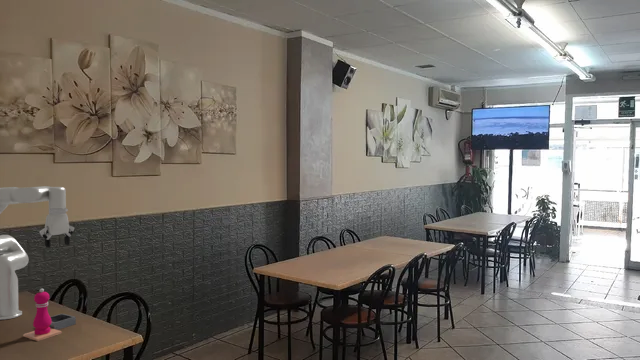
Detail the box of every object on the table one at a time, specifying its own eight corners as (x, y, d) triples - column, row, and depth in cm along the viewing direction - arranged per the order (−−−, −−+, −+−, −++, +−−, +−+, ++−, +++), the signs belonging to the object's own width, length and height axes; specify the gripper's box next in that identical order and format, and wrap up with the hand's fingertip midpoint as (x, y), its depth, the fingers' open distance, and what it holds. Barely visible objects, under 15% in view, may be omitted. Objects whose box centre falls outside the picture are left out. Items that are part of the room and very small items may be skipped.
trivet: (23, 336, 215) (23, 334, 215) (47, 329, 224) (47, 327, 224) (37, 341, 209) (37, 338, 209) (61, 333, 219) (61, 331, 219)
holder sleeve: (40, 326, 228) (40, 319, 227) (62, 320, 237) (62, 313, 237) (54, 330, 222) (54, 323, 222) (75, 324, 232) (75, 316, 231)
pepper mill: (43, 335, 213) (42, 291, 212) (29, 334, 214) (28, 290, 214) (55, 330, 220) (54, 287, 219) (42, 329, 221) (41, 286, 221)
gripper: (69, 209, 248) (69, 242, 249) (35, 212, 233) (35, 247, 234) (78, 210, 245) (78, 244, 245) (44, 213, 230) (44, 249, 230)
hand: (57, 245), depth 240 cm, fingers open, 9 cm apart
